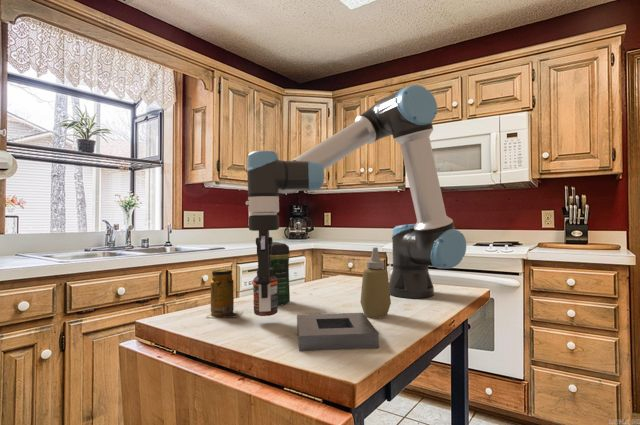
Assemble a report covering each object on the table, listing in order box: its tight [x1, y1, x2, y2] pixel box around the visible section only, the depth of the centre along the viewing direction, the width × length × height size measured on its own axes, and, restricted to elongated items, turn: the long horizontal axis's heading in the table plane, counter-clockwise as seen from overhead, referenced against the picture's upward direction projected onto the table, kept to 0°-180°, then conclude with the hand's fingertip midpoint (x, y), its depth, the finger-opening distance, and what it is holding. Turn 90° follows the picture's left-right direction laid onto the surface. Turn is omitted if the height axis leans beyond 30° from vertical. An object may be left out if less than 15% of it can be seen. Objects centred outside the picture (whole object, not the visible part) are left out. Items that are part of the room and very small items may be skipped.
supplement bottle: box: [252, 267, 279, 317], centre depth 95 cm, size 6×6×11 cm
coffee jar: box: [271, 241, 291, 307], centre depth 117 cm, size 10×8×19 cm
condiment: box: [206, 268, 244, 319], centre depth 104 cm, size 7×8×12 cm
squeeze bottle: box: [359, 247, 392, 319], centre depth 102 cm, size 8×8×18 cm
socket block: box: [296, 312, 380, 352], centre depth 85 cm, size 16×16×3 cm
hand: (265, 307), depth 95 cm, fingers closed on supplement bottle, 6 cm apart
